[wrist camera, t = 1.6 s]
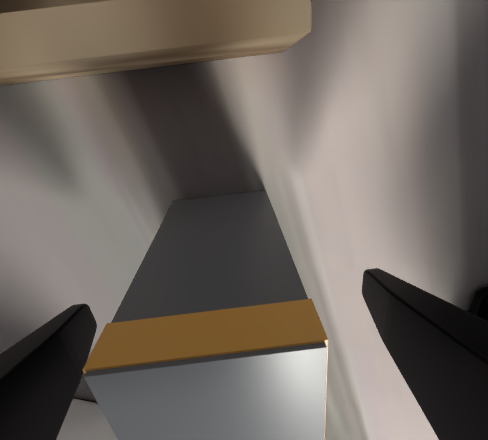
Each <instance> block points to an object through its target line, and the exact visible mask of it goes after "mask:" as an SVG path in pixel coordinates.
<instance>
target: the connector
mask: <svg viewBox="0 0 488 440" xmlns="http://www.w3.org/2000/svg"><path fill="white" fill-rule="evenodd" d="M327 358H328V338H327V336H326V333H325V331H324V328H323V326H322V324H321V321H320V319H319V316H318V314H317V311H316V309H315V306H314V304H313V301H312V299H308V297H307V295H306V292H305V290H304V287H303V285H302V282H301V279H300V277H299V274H298V272H297V269H296V267H295V264H294V261H293V259H292V256H291V254H290V251H289V249H288V246H287V244H286V241H285V238H284V236H283V233H282V231H281V228H280V226H279V223H278V221H277V218H276V215H275V213H274V210H273V208H272V205H271V203H270V200H269V197H268V195H267V192H266V190H261V191H253V192H245V193H237V194H228V195H220V196H212V197H203V198H195V199H187V200H178V201H173V202H172V204H171V206H170V208H169V210H168V212H167V214H166V216H165V218H164V220H163V222H162V224H161V226H160V228H159V230H158V232H157V234H156V236H155V238H154V240H153V242H152V244H151V245H150V247H149V249H148V251H147V253H146V255H145V257H144V259H143V261H142V263H141V265H140V267H139V269H138V271H137V273H136V275H135V277H134V279H133V281H132V283H131V285H130V287H129V289H128V291H127V293H126V295H125V297H124V299H123V301H122V303H121V305H120V306H119V308H118V310H117V312H116V314H115V316H114V318H113V320H112V322H111V323H107V324H106V326H105V328H104V330H103V332H102V334H101V335H100V337H99V339H98V341H97V343H96V345H95V347H94V349H93V351H92V353H91V354H90V356H89V358H88V360H87V362H86V364H85V366H84V368H83V372H84V374H85V375H84V379H85V381H86V382H87V384H88V386H89V388H90V390H91V392H92V393H93V395H94V397H95V399H96V401H97V403H98V404H99V406H100V408H101V410H102V412H103V414H104V415H105V417H106V419H107V421H108V423H109V425H110V426H111V428H112V430H113V432H114V434H115V436H116V437H117V439H118V440H325V417H326V387H327Z"/></svg>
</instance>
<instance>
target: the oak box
mask: <svg viewBox="0 0 488 440" xmlns="http://www.w3.org/2000/svg"><path fill="white" fill-rule="evenodd" d="M310 32H311V0H0V86H1V85H9V84H18V83H26V82H35V81H43V80H52V79H60V78H68V77H77V76H85V75H94V74H102V73H111V72H119V71H127V70H136V69H144V68H153V67H161V66H169V65H178V64H186V63H195V62H203V61H212V60H220V59H228V58H237V57H245V56H254V55H262V54H271V53H279V52H284V51H286V50H287V49H288V48H290V47H291V46H292V45H294V44H295V43H296V42H298V41H299V40H300V39H302V38H303V37H304V36H306V35H307V34H308V33H310Z"/></svg>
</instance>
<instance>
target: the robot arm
mask: <svg viewBox="0 0 488 440" xmlns="http://www.w3.org/2000/svg"><path fill="white" fill-rule="evenodd" d="M362 294H363V297H364V300H365V302H366V304H367V307H368V309H369V311H370V313H371V316H372V318H373V320H374V323H375V325H376V327H377V329H378V332H379V334H380V336H381V338H382V340H383V342H384V344H385V346H386V348H387V349H388V351H389V353H390V355H391V356H392V358H393V360H394V362H395V363H396V365H397V367H398V369H399V370H400V372H401V374H402V376H403V377H404V379H405V381H406V383H407V384H408V386H409V388H410V390H411V391H412V393H413V395H414V397H415V398H416V400H417V402H418V404H419V405H420V407H421V409H422V411H423V412H424V414H425V416H426V418H427V419H428V421H429V423H430V425H431V426H432V428H433V430H434V432H435V433H436V435H437V437H438V439H439V440H488V287H485V288H482V289H481V290H479V291H478V292H477V293H476V295H475V298H474V301H473V304H472V307H471V310H470V313H469V312H467V311H465V310H463V309H461V308H459V307H457V306H455V305H453V304H451V303H449V302H446V301H444V300H442V299H440V298H438V297H436V296H434V295H432V294H430V293H428V292H426V291H424V290H422V289H420V288H418V287H416V286H414V285H411V284H409V283H407V282H405V281H403V280H401V279H399V278H397V277H395V276H393V275H391V274H389V273H387V272H385V271H383V270H381V269H378V268H375V269H367V270H365V271H364V274H363V285H362ZM96 328H97V324H96V321H95V318H94V316H93V314H92V312H91V310H90V307H89V306H88V305H87V304H77V305H73V306H71V307H69V308H68V309H66V310H65V311H63V312H62V313H60V314H59V315H57V316H56V317H54V318H53V319H51V320H50V321H49V322H47V323H46V324H44V325H43V326H41V327H40V328H38V329H37V330H35V331H34V332H32V333H31V334H29V335H28V336H26V337H25V338H23V339H22V340H20V341H19V342H18V343H16V344H15V345H13V346H12V347H10V348H9V349H7V350H6V351H4V352H3V353H1V354H0V440H56V439H57V436H58V434H59V432H60V429H61V427H62V424H63V422H64V419H65V417H66V415H67V412H68V410H69V407H70V405H71V402H72V400H73V398H74V395H75V393H76V390H77V388H78V385H79V383H80V380H81V378H82V375H83V368H84V366H85V364H86V362H87V359H88V356H89V352H90V349H91V346H92V342H93V339H94V336H95V332H96Z"/></svg>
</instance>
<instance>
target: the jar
mask: <svg viewBox="0 0 488 440" xmlns="http://www.w3.org/2000/svg"><path fill="white" fill-rule="evenodd" d="M56 440H118V439H117V437H116V436H115V434H114V432H113V430H112V428H111V426H110V425H109V423H108V421H107V419H106V417H105V415H104V414H103V412H102V410H101V408H100V406H99V404H98V403H95V402H89V401H84V400H79V399H74V398H73V400H72V402H71V405H70V407H69V410H68V412H67V415H66V417H65V419H64V422H63V424H62V427H61V429H60V432H59V434H58V436H57V439H56Z"/></svg>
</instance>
